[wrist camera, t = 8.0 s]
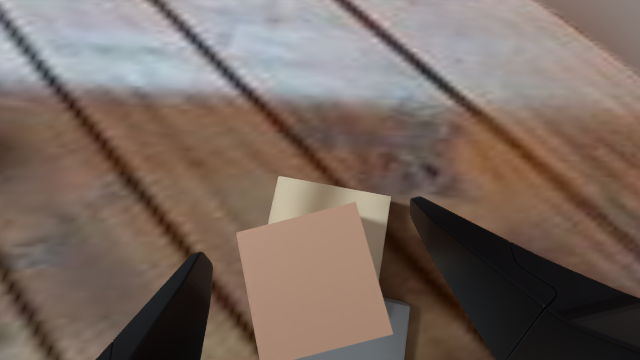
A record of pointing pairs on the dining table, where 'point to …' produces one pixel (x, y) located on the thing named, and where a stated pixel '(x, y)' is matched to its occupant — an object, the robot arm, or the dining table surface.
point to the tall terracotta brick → (312, 284)
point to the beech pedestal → (315, 197)
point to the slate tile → (381, 353)
